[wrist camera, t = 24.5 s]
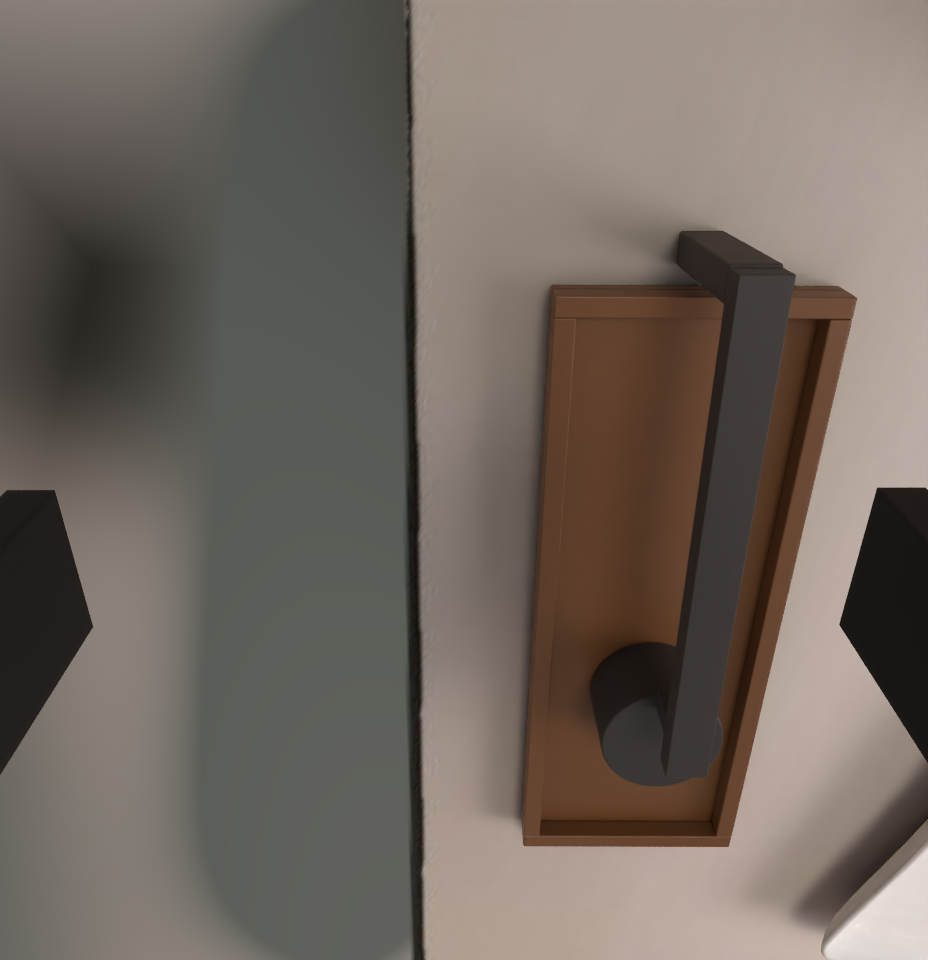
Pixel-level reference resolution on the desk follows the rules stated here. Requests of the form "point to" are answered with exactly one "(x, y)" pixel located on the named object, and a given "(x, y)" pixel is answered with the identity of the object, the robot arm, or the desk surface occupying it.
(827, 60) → the desk surface
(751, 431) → the ladle
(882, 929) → the salad plate
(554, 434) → the spoon rest
